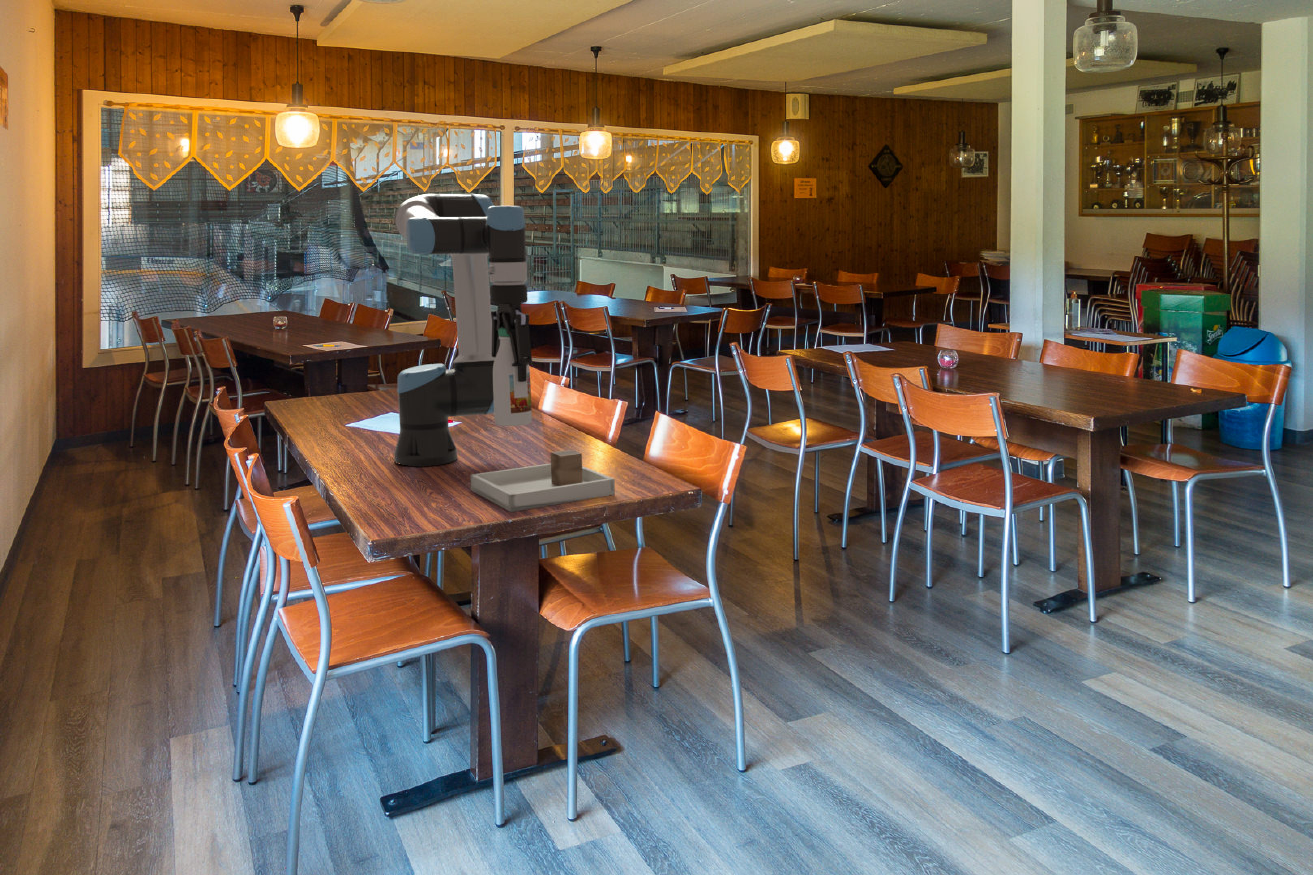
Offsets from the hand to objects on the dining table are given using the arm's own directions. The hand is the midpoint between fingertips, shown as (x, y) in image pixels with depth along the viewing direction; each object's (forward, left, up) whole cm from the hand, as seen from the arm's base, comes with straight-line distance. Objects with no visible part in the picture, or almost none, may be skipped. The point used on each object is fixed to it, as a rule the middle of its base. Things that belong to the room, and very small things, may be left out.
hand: (512, 394), depth 208 cm
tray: (0, +6, -22) cm, 23 cm away
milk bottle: (0, 0, -6) cm, 6 cm away
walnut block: (0, +12, -21) cm, 24 cm away
